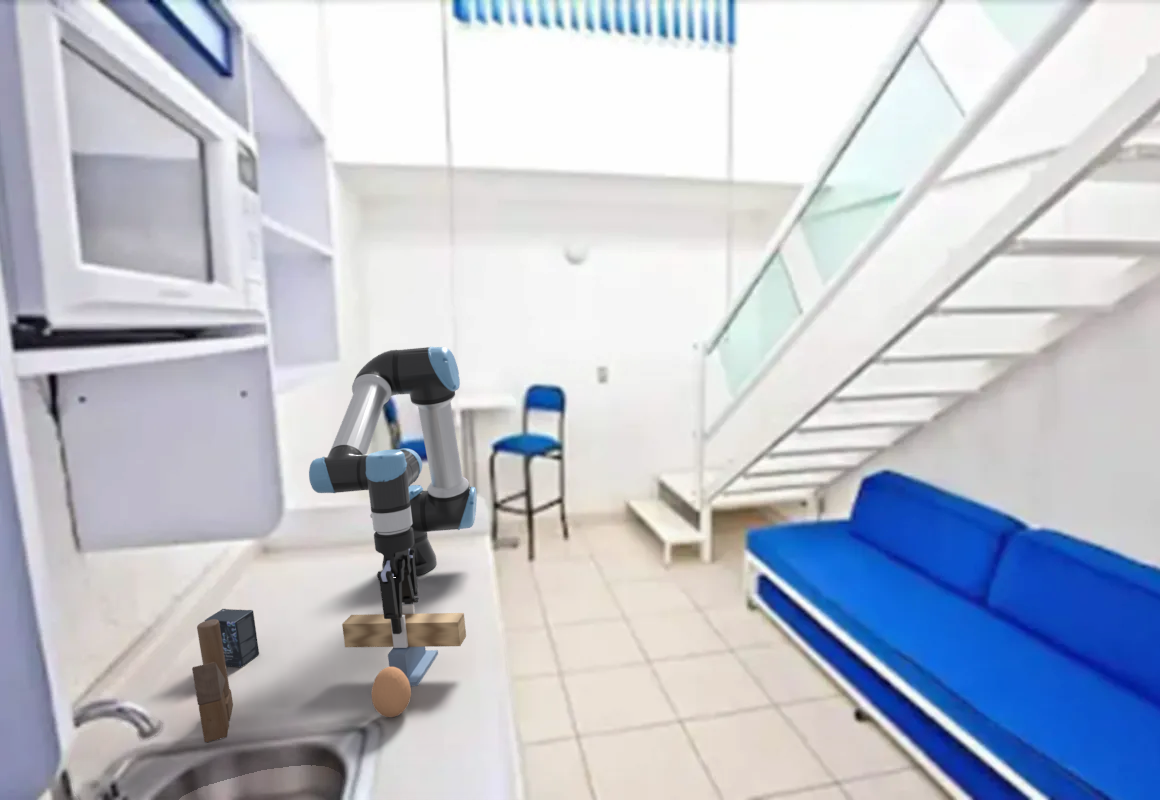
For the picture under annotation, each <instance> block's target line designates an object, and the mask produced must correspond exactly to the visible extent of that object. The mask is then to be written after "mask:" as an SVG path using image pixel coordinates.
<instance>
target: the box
mask: <svg viewBox="0 0 1160 800" xmlns="http://www.w3.org/2000/svg"><path fill="white" fill-rule="evenodd" d="M211 619H217V620H218V621H219V625H220V631H221V637H222V644H223V650H224V657H225V663H226V667H233V668H234V667H235V668H237V667H238V668H243V667H245V666H246V665H248V664H249V663H250V662H251V661H252V660H254V659H255V658H257V657H258V656H259V655H260V648H259V642H258V637H257V636H258V635H257V627H256V621H255V615H254V610H253V609H228V608H222V609H220V610H219V611H217V612H215V613H214V614H211V615H210V616H209V617H208V618H206V619H204V621H207V620H211Z"/></svg>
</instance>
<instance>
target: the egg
mask: <svg viewBox="0 0 1160 800" xmlns="http://www.w3.org/2000/svg"><path fill="white" fill-rule="evenodd" d="M411 697H412V689H411V686H410V683H409V680H408V678H407V677H406V675H405V674H404V673H403V672H402V671H401V670H400V669H398V668H396V667H389V666H387V667H385V668H383V669H381V670H380V671H379V673H378V674H377V675H376V677H375V678H374V681H373V684H372V687H371V701H372V705H373V707H374V709H375V710H376V712H378V714H380V715H381V716H383V717H386V718H395V717H399V715H401V714H402V713H403V712H404V711H405V710H406V709H407V707H408V705H409V703H410V700H411Z"/></svg>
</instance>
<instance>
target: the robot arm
mask: <svg viewBox="0 0 1160 800" xmlns="http://www.w3.org/2000/svg"><path fill="white" fill-rule="evenodd" d="M460 384H461V383H460V373H459V369H458V363H457V361H456V359H455V355H454V354H453V352H452V351H451V349H449V348H447V347H445V346H427V347H416V348H407V349H406V348H405V349H404V348H403V349H390V350H388V351H384V352H381V353H380V354H378V355H376V356H375V357H373V358H371V359H370V360H369V361H368V362H367V363H366V364H364V366H363V367H362V368H361V369H360V370H359V371H358V373H357V374H356V376H355V378H354V380H353V382H352V385H351V391H352V396H351V399H350V401H349V404H348V406H347V408H346V411H345V414H344V416H343V419H342V421H341V424H340V426H339V427H338V432H337V434H336V436H335V438H334V440H333V443H332V446H331V449H330V451H329V453H328V454H327V457H325V456H322V457H317V458H315V459H313V460H312V461H311V462H310V465H309V470H308V478H309V483H310V486H311V489H313V491H314V492H316V493H318V494H339V493H349V492H358V491H359V492H360V491H368V497H369V503H370V512H371V513H370V515H369V516H370V518H371V520H372V521H371V523H372V529H373V531H374V534H373V540H374V542H373V543H374V549H375V551H376V553H378V554H382V556H383V559H382V564H381V567H382V570H381V571H380V570H379V571H377V573H376V576H377V577H376V578H377V580H378V583H379V589H380V598H381V604H382V613H383V614H384V619H390V620H391V629H392V637H393V646H394V648H407V647H408V639H407V631H406V622H405V615H402V614H416V610H415V604H414V603H418V602H419V597H417V596H418V594H419V591H418V581H417V580H418V578H417V576H419V575H424V574H425V573H427V572H429V571H432V570H433V569H434V568H435V567H436V566H437V563H438V562H437V556H436V553H435V551H434V549H433V546H432V544H431V542H430V540H429V538H428V532H441V531H452V530H453V531H454V530H456V531H460V530H464V529H470V528H473V526H474V524H475V521H476V513H477V499H478V498H477V496H478V495H477V494H478V493H477V489H476V487H475V486H471V485H470V482H469V479H467V478H466V477H464V476H463V471H462V467H461V465H462V464H461V460H460V455H459V446H458V439H457V433H456V428H455V421H454V415H453V409H452V400H453V399H454V398H455V397H456V391H458V390H459V388H460ZM396 395H397V396H398V395H409V398H410V402H411V403H412V404H413V405H415V406H417V409H418V414H419V420H420V425H421V426H420V427H421V431H422V436H423V443H424V447H425V453H426V459H427V464H428V470H429V475H430V480H431V482H430V483H429V484H428V486H427V489H426V490H424V488H423V487H422V485H421V484H420V485H419V484H418V485H417V484H414V483H415V482H416V481H417V480H418V478H419V477H420V474H421V473H422V470H423V462H422V458H421V456H420V455H419V453H417V452H416V451H415V450H413V449H412V448H405V447H404V448H399V449H383V450H377V451H375V452H371V453H369V454H368V451H369V448H370V444H371V443H372V439H373V437H374V434H375V430H376V428H377V425H378V422H379V419H380V416H381V413H382V410H383V409H384V405H385V404H386V403H388V402H389V400H390V399H391V398H392V396H396ZM393 577H396V578H393Z"/></svg>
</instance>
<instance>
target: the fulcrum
mask: <svg viewBox="0 0 1160 800" xmlns="http://www.w3.org/2000/svg"><path fill="white" fill-rule="evenodd" d="M438 655H439V651H438V650H437V649H436V650H435V649H434V650H433V649H432V650H431V649H430V650H429V649H428V650H426V647H407V648H394V647H391V650H390V651H389V652H388V653H387V657H388V658H387V659H388V667H396V668H398V669H400V670H401V671H402V672H403V673H404V674H405V675H406V677H407V678H408V680H409V683H410V687H418V686H419V685H420V683H421V681H422V680H423V678H424V676H425V675H426V673H427V672H428V671H429V668H430V667H431V666H432V664H433V662H434V661H435V660H436V658H437V656H438Z"/></svg>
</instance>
